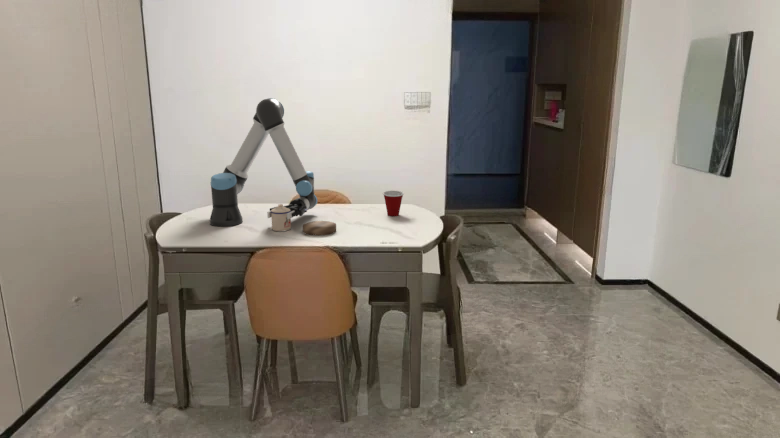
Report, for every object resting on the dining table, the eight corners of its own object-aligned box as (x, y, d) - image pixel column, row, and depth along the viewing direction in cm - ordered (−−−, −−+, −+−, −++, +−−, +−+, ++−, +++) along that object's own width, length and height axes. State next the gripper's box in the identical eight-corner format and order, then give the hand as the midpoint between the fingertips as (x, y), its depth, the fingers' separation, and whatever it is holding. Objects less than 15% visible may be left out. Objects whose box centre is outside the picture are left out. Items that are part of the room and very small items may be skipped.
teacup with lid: (288, 231, 245) (286, 206, 242) (268, 231, 246) (267, 206, 244) (296, 225, 257) (295, 201, 254) (277, 224, 258) (276, 200, 255)
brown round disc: (297, 234, 241) (297, 227, 241) (311, 226, 256) (311, 220, 255) (328, 236, 238) (328, 229, 237) (341, 228, 252) (340, 222, 251)
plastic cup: (382, 217, 273) (382, 194, 271) (382, 213, 284) (382, 190, 281) (404, 217, 274) (404, 194, 271) (403, 212, 284) (403, 190, 281)
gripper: (319, 214, 265) (300, 225, 244) (279, 212, 270) (256, 222, 249) (319, 199, 263) (299, 209, 242) (278, 197, 269) (255, 206, 247)
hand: (277, 215), depth 246 cm, fingers closed on teacup with lid, 9 cm apart
